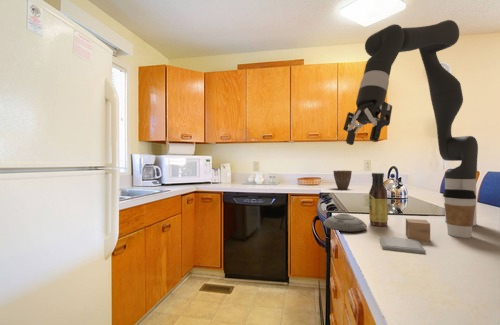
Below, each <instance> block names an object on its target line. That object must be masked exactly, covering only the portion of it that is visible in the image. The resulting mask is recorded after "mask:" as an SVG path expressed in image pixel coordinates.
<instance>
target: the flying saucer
mask: <svg viewBox="0 0 500 325" xmlns="http://www.w3.org/2000/svg"><path fill="white" fill-rule="evenodd" d="M322 225H323V226H324V227H326V228H327V229H330V230H334V231H337V232H338V231H339V232H349V233H350V232H361V231H363V230H366V229H367V227H368V226H367V224H366V223H365V221H363V220H362V219H361V218H359V217H356V216H353V215H351V214H347V213H339V214H338V213H337V214H335V215H332V216H329V217H328V218H326V219H325V220H324V221H323V223H322Z"/></svg>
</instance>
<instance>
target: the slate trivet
mask: <svg viewBox="0 0 500 325" xmlns="http://www.w3.org/2000/svg"><path fill="white" fill-rule="evenodd" d="M379 240H380V246H381V249H382V250H388V251H389V250H390V251H395V252H396V251H397V252H406V253H413V254H415V253H416V254H425V255H426V250H425V248H424V247H423V245H422V244H421V242H420V241H418V240H416V239H408V238H404V237H403V238H402V237H394V236H392V237H391V236H381V235H380V236H379Z"/></svg>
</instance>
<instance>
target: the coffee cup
mask: <svg viewBox="0 0 500 325" xmlns="http://www.w3.org/2000/svg"><path fill="white" fill-rule="evenodd" d="M442 197H444V204H443V205H444V211H445V214H446V222H445V223H446V228H447V235H448V236H451V237H455V238H460V239H470V238H472V236H473V227H474V226H473V220H474V211H475V205H474V203H475V199H476V200H477V194H476V195H475V192H474V191H472V190H462V189H445V188H444V191H443V193H442ZM445 214H444V215H445Z"/></svg>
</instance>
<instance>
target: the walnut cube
mask: <svg viewBox="0 0 500 325" xmlns="http://www.w3.org/2000/svg"><path fill="white" fill-rule="evenodd" d="M405 236H406V238H407V239H416V240H418V241H419V242H431V223H430V222H429V221H428V220H427V219H423V218H422V219H421V218H405Z"/></svg>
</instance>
